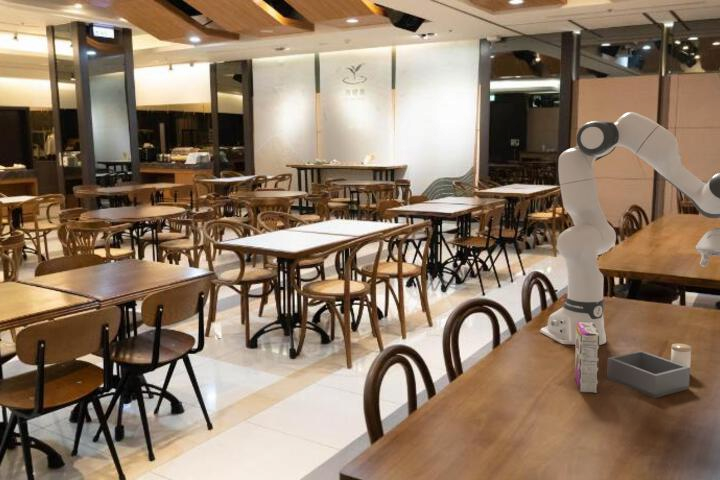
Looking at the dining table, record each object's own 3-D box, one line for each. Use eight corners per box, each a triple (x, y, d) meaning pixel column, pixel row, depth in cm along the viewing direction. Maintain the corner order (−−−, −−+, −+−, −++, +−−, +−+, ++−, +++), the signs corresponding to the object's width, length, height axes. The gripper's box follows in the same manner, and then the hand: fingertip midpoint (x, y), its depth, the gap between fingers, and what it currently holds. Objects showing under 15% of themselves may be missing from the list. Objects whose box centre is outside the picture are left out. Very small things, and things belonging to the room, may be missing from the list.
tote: (606, 378, 183) (607, 357, 182) (639, 370, 188) (640, 350, 187) (654, 398, 169) (655, 376, 168) (688, 388, 174) (690, 367, 173)
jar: (666, 372, 187) (667, 345, 185) (678, 369, 189) (679, 342, 188) (681, 377, 182) (683, 350, 181) (693, 374, 184) (695, 347, 183)
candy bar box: (573, 377, 184) (575, 321, 181) (592, 378, 183) (594, 322, 180) (578, 392, 173) (580, 333, 171) (598, 393, 172) (600, 334, 170)
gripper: (704, 222, 198) (681, 259, 196) (760, 220, 178) (735, 261, 176) (718, 234, 199) (695, 271, 197) (775, 234, 179) (750, 274, 177)
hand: (714, 266), depth 186 cm, fingers open, 8 cm apart
